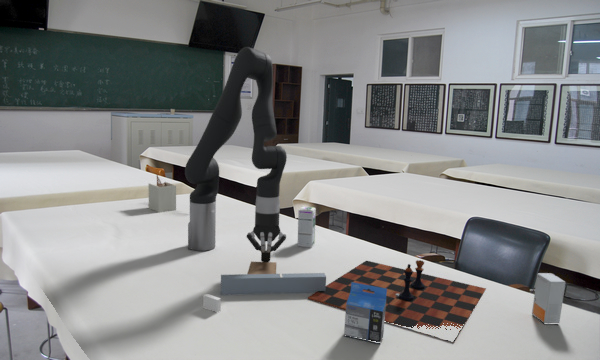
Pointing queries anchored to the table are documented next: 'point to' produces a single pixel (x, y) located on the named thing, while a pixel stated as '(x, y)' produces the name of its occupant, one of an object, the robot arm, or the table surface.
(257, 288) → the board
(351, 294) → the label tape cartridge
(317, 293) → the chessboard
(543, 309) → the skincare box
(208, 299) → the eraser
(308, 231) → the syrup box
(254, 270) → the block
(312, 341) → the table surface
